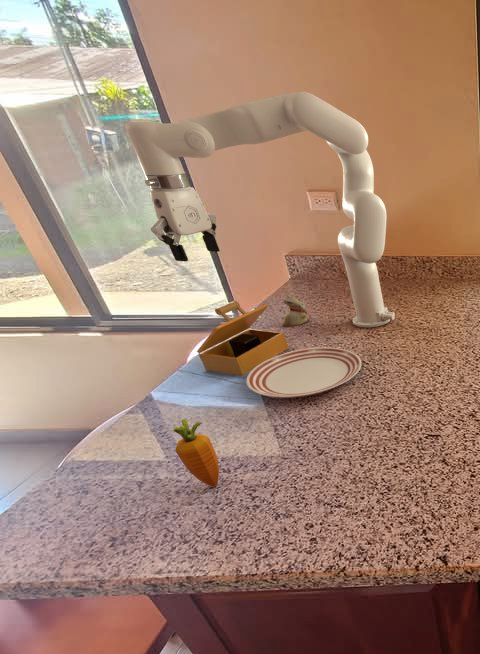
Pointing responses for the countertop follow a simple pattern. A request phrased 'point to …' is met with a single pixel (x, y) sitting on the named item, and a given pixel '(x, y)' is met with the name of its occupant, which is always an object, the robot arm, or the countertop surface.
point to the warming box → (224, 358)
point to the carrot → (197, 454)
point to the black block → (244, 343)
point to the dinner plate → (303, 372)
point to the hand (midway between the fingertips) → (198, 255)
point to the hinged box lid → (231, 324)
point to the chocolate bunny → (294, 312)
